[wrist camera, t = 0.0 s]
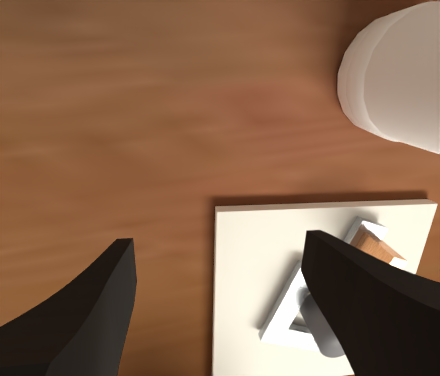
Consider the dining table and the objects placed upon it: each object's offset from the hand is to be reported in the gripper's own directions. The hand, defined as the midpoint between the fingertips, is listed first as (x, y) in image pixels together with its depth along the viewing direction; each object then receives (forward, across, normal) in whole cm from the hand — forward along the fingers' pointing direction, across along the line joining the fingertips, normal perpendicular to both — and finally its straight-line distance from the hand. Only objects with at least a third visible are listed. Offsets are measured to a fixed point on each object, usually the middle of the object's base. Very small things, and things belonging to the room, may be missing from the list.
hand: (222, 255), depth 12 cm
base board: (+10, -10, +12) cm, 19 cm away
